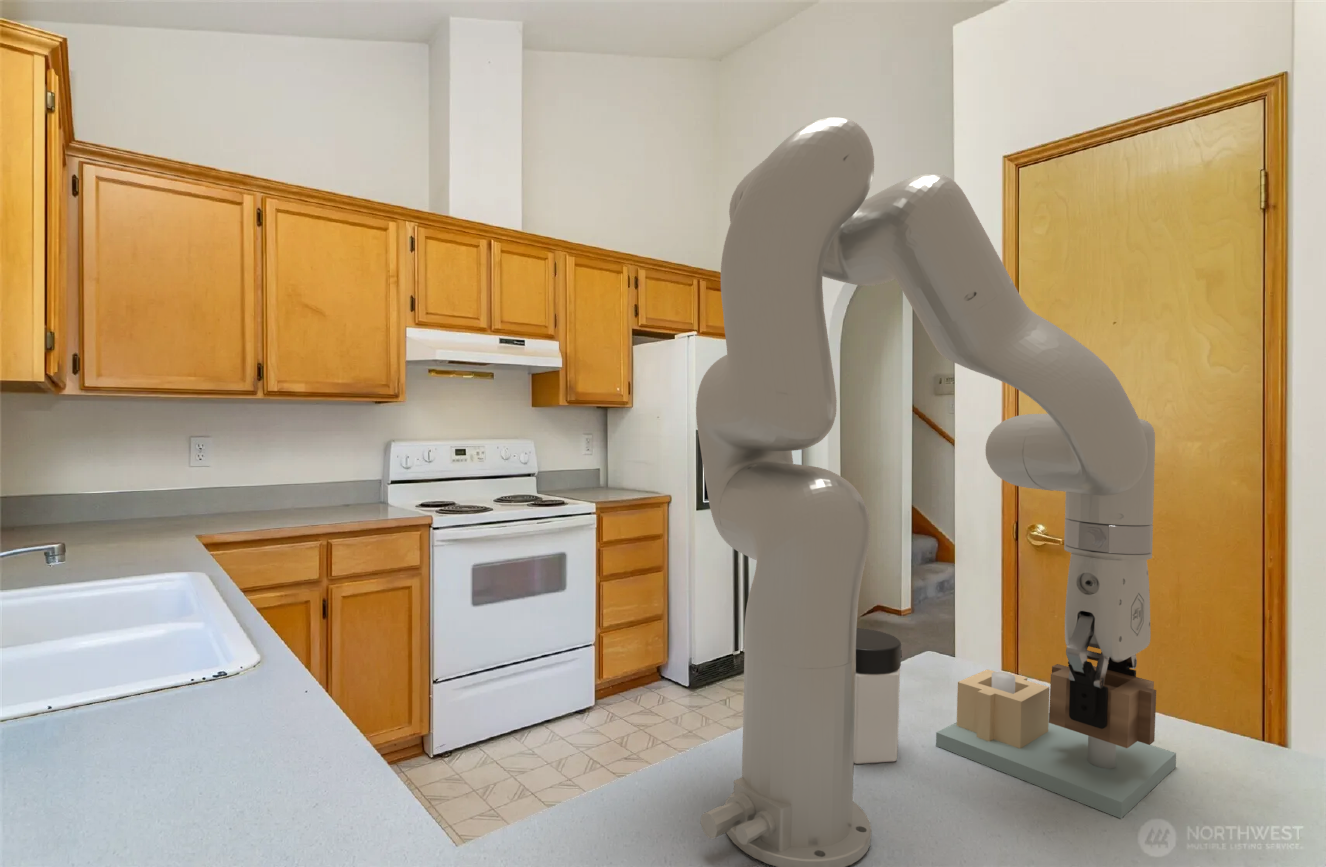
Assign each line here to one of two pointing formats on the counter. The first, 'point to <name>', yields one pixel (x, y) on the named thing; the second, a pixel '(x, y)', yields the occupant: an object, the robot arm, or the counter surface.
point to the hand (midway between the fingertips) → (1102, 712)
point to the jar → (876, 697)
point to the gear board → (1048, 745)
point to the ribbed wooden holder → (1109, 708)
